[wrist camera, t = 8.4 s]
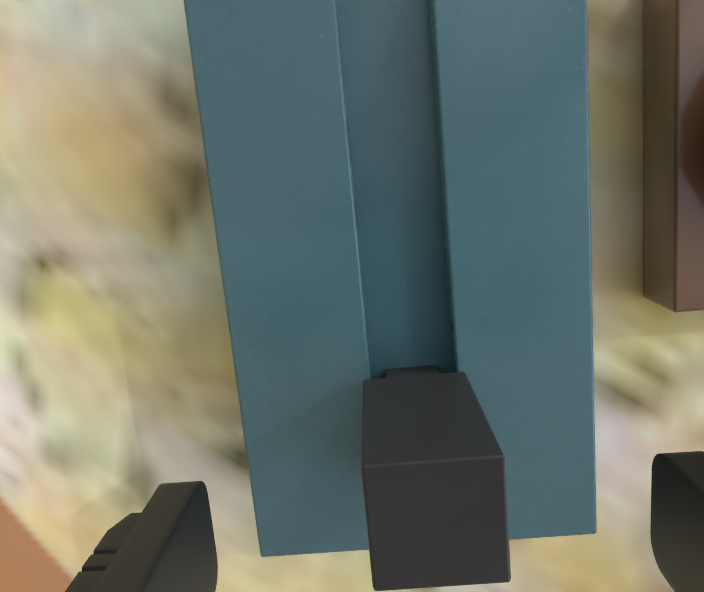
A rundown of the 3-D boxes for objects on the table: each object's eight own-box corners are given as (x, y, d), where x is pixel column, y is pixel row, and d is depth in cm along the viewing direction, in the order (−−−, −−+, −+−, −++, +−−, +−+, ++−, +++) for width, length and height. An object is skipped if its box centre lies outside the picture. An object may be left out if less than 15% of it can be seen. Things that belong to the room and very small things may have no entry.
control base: (218, 21, 20) (173, -21, 15) (542, -14, 19) (595, -69, 15) (278, 490, 23) (256, 570, 18) (557, 470, 22) (605, 547, 18)
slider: (363, 363, 19) (360, 466, 12) (458, 355, 18) (505, 455, 12) (371, 451, 19) (373, 593, 13) (464, 444, 19) (511, 583, 13)
